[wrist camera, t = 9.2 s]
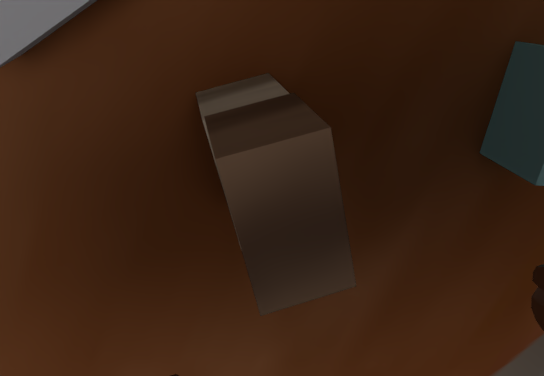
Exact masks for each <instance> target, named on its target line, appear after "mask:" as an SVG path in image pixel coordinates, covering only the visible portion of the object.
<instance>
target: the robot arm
mask: <svg viewBox="0 0 544 376" xmlns="http://www.w3.org/2000/svg"><path fill="white" fill-rule="evenodd" d="M532 281H533V282H534V283H535V284H536V285H537V286H538V288H537V289H536V291H535V292H534V294H533V295H532V298H531V308H532V311H533V314H534V317H535V319H536V321H537V323H538V324H539V326H540V327H541V329H542V330H543V331H544V264H543V265H540V266H537V267H536V268H535V270H534V271H533V280H532ZM171 376H179V375H177V374H175V375H171Z"/></svg>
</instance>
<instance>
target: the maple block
mask: <svg viewBox="0 0 544 376" xmlns="http://www.w3.org/2000/svg"><path fill="white" fill-rule="evenodd" d="M286 94H289V93H288V92H287V91H286V90H285V89H284V88H283V87H282V86H281V85H280V84H279V83H278V82H277V81H276V80H275V79H274V78H273V77H272V76H271V75H270V74H269V73H267V74H263V75H259V76H256V77H252V78H248V79H245V80H241V81H237V82H233V83H230V84H226V85H222V86H219V87H215V88H211V89H208V90H204V91H200V92H196V97H197V101H198V105H199V109H200V113H201V117H202V121H203V124H204V128H205V131H206V134H207V138H208V141H209V144H210V148H211V151H212V154H213V158H214V161H215V164H216V168H217V171H218V174H219V170H218V167H217V163H216V160H215V156H214V152H213V148H212V145H211V141H210V137H209V133H208V129H207V126H206V122H205V118H204V116H208V115H211V114H215V113H219V112H223V111H226V110H230V109H234V108H238V107H241V106H245V105H249V104H253V103H256V102H260V101H264V100H268V99H271V98H275V97H279V96H283V95H286ZM219 178H220V181H221V177H220V174H219ZM221 184H222V181H221ZM222 188H223V191H224V187H223V184H222ZM224 194H225V191H224ZM225 198H226V194H225ZM226 201H227V198H226ZM227 204H228V201H227ZM228 208H229V205H228ZM229 211H230V208H229ZM230 214H231V212H230ZM231 218H232V215H231ZM232 221H233V219H232ZM233 224H234V222H233ZM234 227H235V226H234ZM235 231H236V229H235ZM236 234H237V232H236ZM237 237H238V236H237ZM238 241H239V239H238ZM239 244H240V243H239ZM240 247H241V246H240Z"/></svg>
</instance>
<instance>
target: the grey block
mask: <svg viewBox="0 0 544 376" xmlns="http://www.w3.org/2000/svg"><path fill="white" fill-rule="evenodd" d="M96 1H97V0H0V67H2V66H3V65H5V64H7V63H9V62H10V61H12V60H14V59H16V58H17V57H19V56H21V55H22V54H24V53H25V52H26V51H28V50H29V49H31V48H32V47H33V46H35V45H36V44H38V43H39V42H40V41H42V40H43V39H44V38H46V37H47V36H49V35H50V34H51V33H53V32H54V31H55V30H57V29H58V28H60V27H61V26H62V25H64V24H65V23H67V22H68V21H69V20H71V19H72V18H73V17H75V16H76V15H78V14H79V13H80V12H82V11H83V10H84V9H86V8H87V7H89V6H90V5H91V4H93V3H94V2H96Z"/></svg>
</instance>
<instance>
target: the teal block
mask: <svg viewBox="0 0 544 376" xmlns="http://www.w3.org/2000/svg"><path fill="white" fill-rule="evenodd" d="M480 154H482V155H483V156H485V157H487V158H489V159H490V160H492V161H494V162H496V163H497V164H499V165H501V166H503V167H504V168H506V169H508V170H510V171H511V172H513V173H515V174H517V175H518V176H520V177H522V178H523V179H525V180H527V181H529V182H530V183H532V184H534V185H540V186H544V45H540V44H532V43H525V42H518V41H516V42H515V45H514V48H513V51H512V54H511V57H510V60H509V63H508V67H507V70H506V73H505V76H504V79H503V82H502V85H501V88H500V91H499V94H498V97H497V100H496V104H495V107H494V110H493V113H492V116H491V119H490V122H489V125H488V128H487V131H486V134H485V137H484V141H483V144H482V147H481V150H480Z"/></svg>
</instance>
